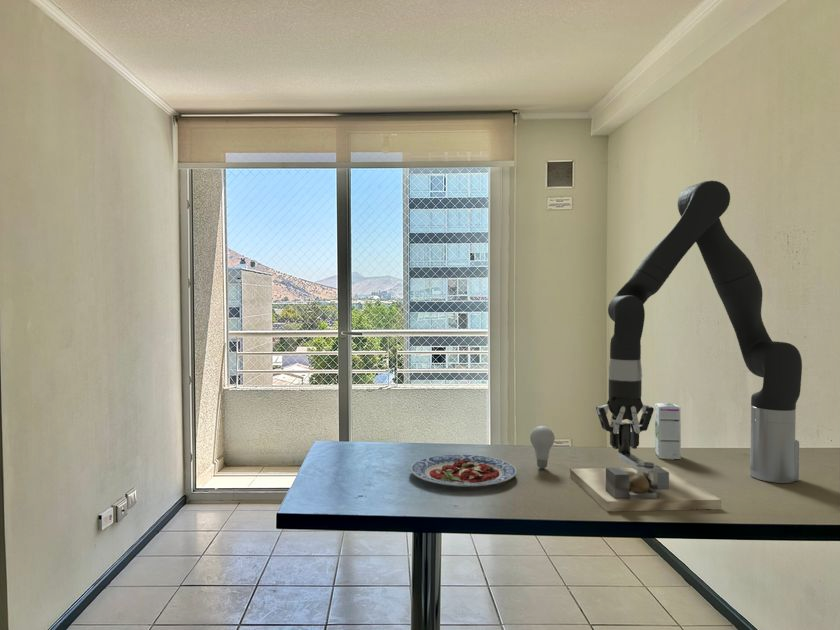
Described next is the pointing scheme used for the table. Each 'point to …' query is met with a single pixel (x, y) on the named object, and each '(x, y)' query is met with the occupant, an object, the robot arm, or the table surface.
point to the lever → (640, 461)
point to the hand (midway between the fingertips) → (624, 447)
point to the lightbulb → (542, 444)
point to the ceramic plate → (463, 470)
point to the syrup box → (667, 431)
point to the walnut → (639, 484)
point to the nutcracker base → (617, 496)
